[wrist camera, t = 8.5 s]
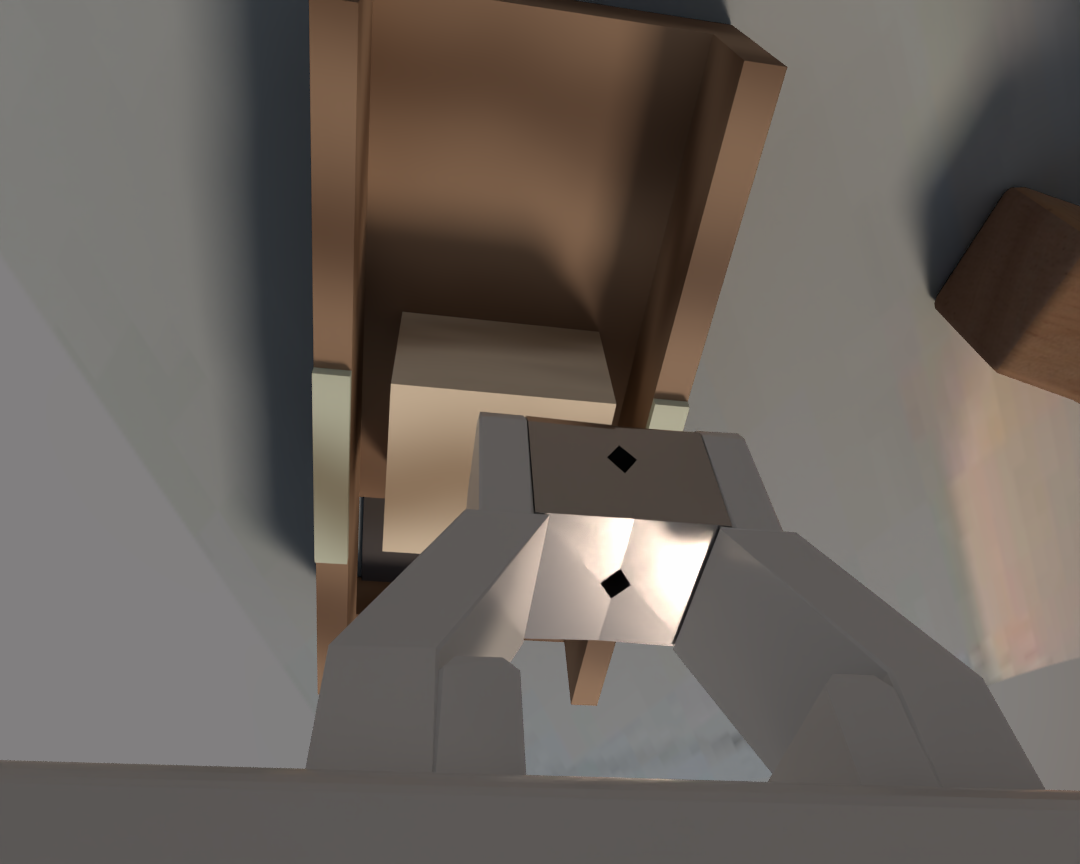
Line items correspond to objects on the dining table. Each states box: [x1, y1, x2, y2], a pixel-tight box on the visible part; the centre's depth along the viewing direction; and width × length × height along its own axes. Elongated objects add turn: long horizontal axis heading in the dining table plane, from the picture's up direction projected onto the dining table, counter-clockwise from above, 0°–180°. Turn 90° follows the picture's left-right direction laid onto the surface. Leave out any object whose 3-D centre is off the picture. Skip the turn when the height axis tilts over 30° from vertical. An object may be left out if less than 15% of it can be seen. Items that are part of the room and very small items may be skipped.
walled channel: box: [309, 0, 787, 706], centre depth 26 cm, size 23×10×5 cm, turn 172°
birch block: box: [382, 312, 616, 554], centre depth 25 cm, size 6×6×4 cm
